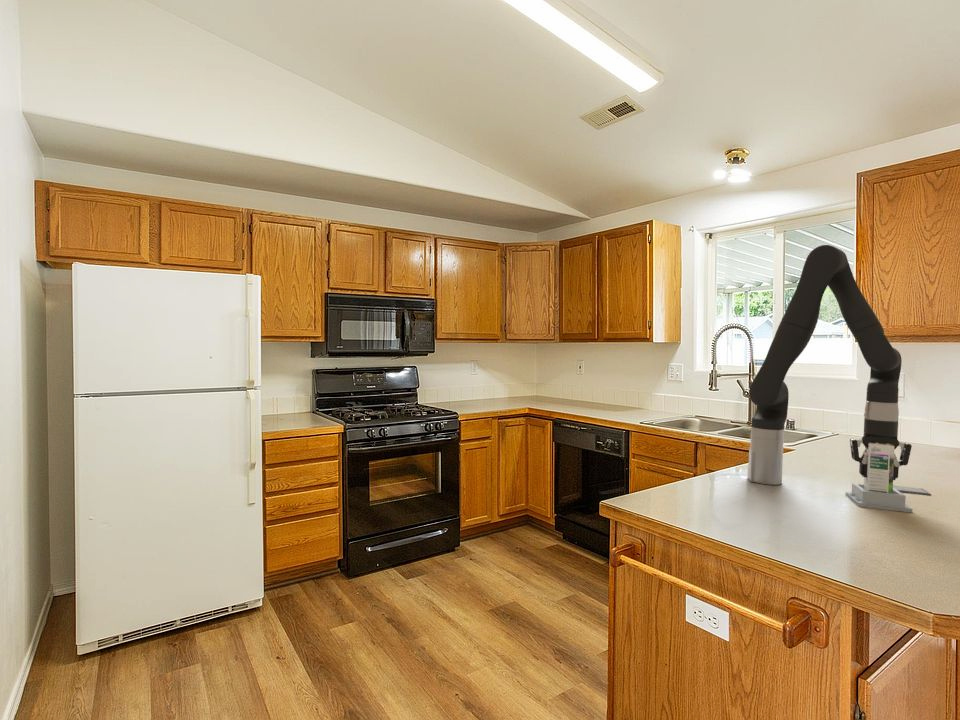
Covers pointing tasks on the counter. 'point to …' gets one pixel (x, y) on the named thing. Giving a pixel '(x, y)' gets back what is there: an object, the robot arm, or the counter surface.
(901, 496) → the grey square socket
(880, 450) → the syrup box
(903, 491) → the slab
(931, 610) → the counter surface
